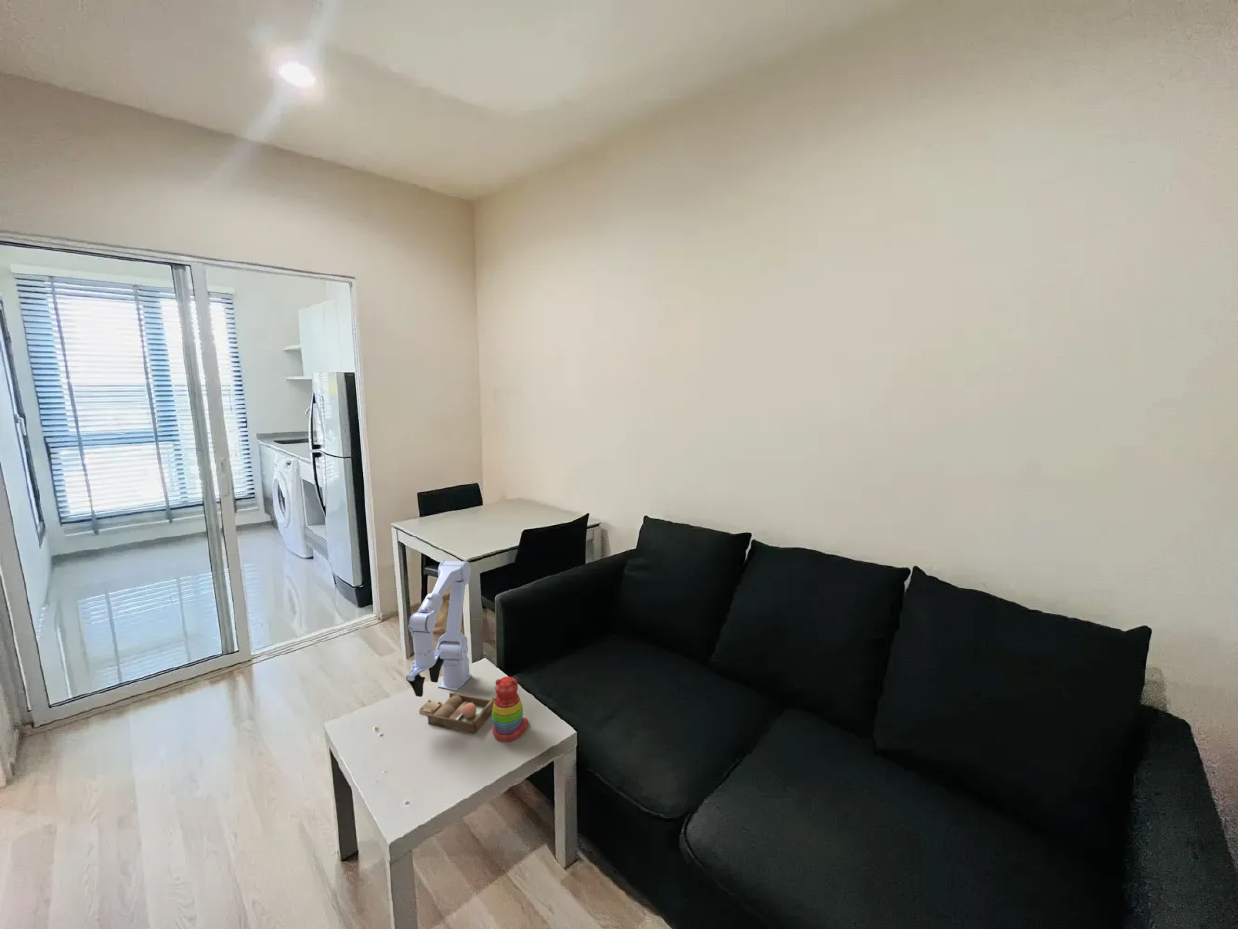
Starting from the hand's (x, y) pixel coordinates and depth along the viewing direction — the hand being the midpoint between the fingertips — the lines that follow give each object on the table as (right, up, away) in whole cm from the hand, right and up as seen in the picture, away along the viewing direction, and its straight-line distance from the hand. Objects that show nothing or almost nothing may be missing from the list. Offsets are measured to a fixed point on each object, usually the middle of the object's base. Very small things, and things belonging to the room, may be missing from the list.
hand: (427, 688), depth 157 cm
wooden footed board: (-1, -9, +5) cm, 10 cm away
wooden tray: (+11, -13, +2) cm, 17 cm away
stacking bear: (+27, -11, -5) cm, 30 cm away
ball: (+13, -7, +1) cm, 15 cm away
